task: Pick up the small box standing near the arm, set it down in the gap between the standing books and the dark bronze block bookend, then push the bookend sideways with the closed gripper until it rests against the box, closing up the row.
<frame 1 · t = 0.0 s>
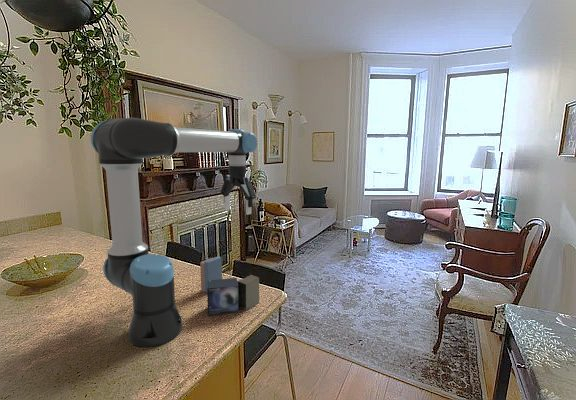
hand: (237, 212, 134), 28 cm above the breakfast bar, fingers open, 13 cm apart
small box: (222, 310, 105), on the breakfast bar
bookend: (248, 292, 107), point 5 cm above the breakfast bar, slide at 0.0 cm
standing books: (215, 290, 119), on the breakfast bar
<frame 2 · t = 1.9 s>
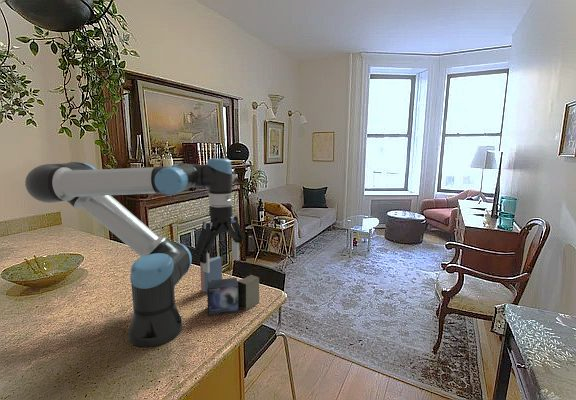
hand: (221, 265, 102), 17 cm above the breakfast bar, fingers open, 13 cm apart
nothing on the breakfast bar moved.
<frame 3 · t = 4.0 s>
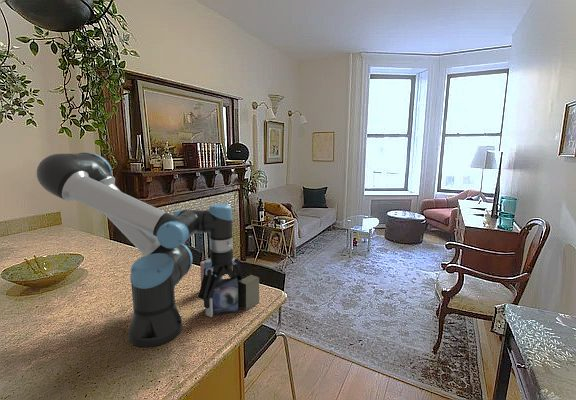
hand: (222, 307, 105), 1 cm above the breakfast bar, fingers closed on small box, 11 cm apart
small box: (222, 310, 105), on the breakfast bar, touching gripper
everything else where it was.
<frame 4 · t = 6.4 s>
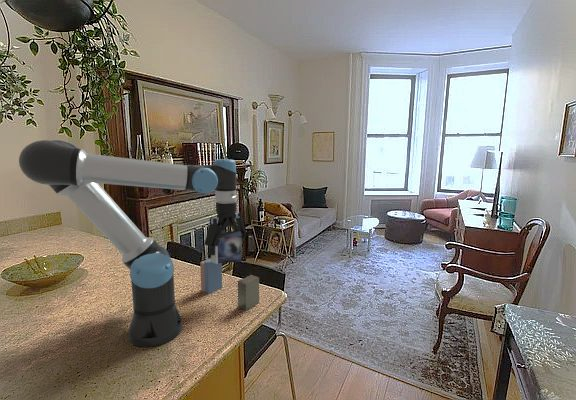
hand: (227, 258, 112), 16 cm above the breakfast bar, fingers closed on small box, 11 cm apart
small box: (227, 260, 112), point 15 cm above the breakfast bar, touching gripper
everything else where it was.
when the fingers open (3 cm above the breakfast bar, at t = 9.3 s): small box drops 2 cm, on the breakfast bar.
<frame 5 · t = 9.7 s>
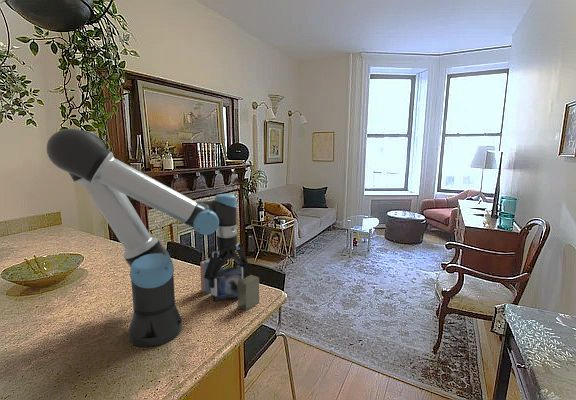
hand: (227, 288, 114), 3 cm above the breakfast bar, fingers open, 13 cm apart
small box: (227, 296, 114), on the breakfast bar
everything else where it was.
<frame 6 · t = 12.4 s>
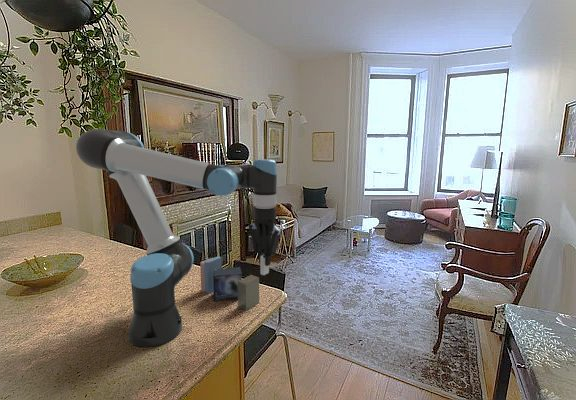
hand: (264, 273, 102), 14 cm above the breakfast bar, fingers closed
nothing on the breakfast bar moved.
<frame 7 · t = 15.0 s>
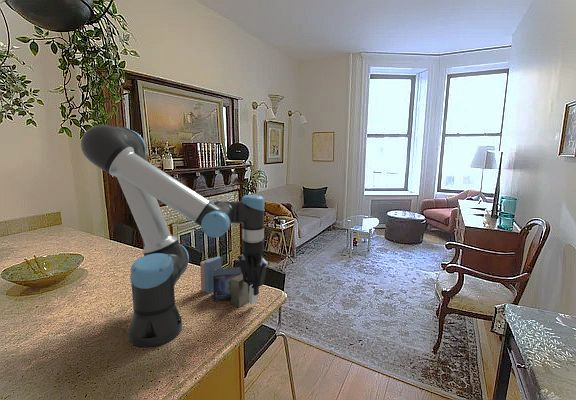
hand: (253, 302, 107), 2 cm above the breakfast bar, fingers closed
bookend: (241, 289, 109), point 5 cm above the breakfast bar, slide at 3.4 cm, touching hand
everything else where it was.
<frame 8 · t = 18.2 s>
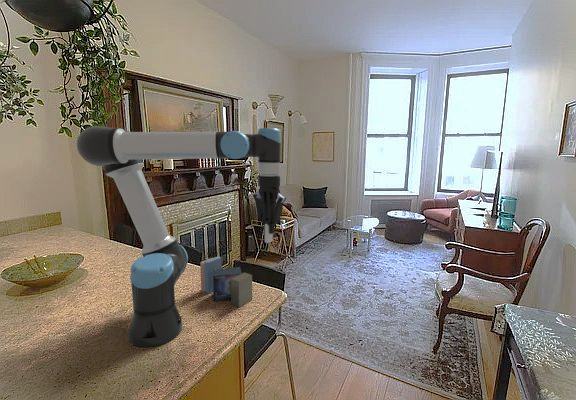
hand: (268, 241, 104), 24 cm above the breakfast bar, fingers closed
bookend: (241, 289, 109), point 5 cm above the breakfast bar, slide at 3.5 cm
everything else where it was.
at the end: small box inside the target area (0.2 cm from its centre), on the breakfast bar; small box tilted 0°; bookend slide at 3.5 cm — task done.
